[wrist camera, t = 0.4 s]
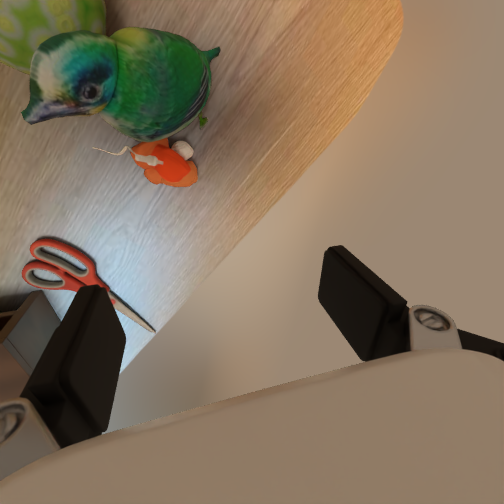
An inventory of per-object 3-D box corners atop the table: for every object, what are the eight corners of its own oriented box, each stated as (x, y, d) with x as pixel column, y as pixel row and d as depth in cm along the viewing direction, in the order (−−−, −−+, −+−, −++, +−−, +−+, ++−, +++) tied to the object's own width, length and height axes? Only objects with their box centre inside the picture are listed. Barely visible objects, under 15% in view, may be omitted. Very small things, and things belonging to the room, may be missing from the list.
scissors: (154, 333, 42) (153, 340, 41) (11, 270, 31) (4, 277, 30) (183, 305, 41) (184, 311, 40) (44, 229, 30) (39, 234, 29)
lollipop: (129, 102, 26) (97, 102, 16) (209, 156, 30) (223, 183, 20) (106, 154, 27) (63, 183, 17) (184, 198, 32) (186, 241, 22)
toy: (206, 179, 28) (58, 147, 14) (155, 150, 30) (-14, 99, 17) (253, 60, 24) (110, -141, 10) (190, 36, 26) (7, -152, 13)
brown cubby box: (-36, 301, 32) (-103, 362, 24) (41, 289, 34) (1, 343, 26) (13, 360, 38) (-28, 423, 31) (76, 348, 40) (52, 404, 32)
